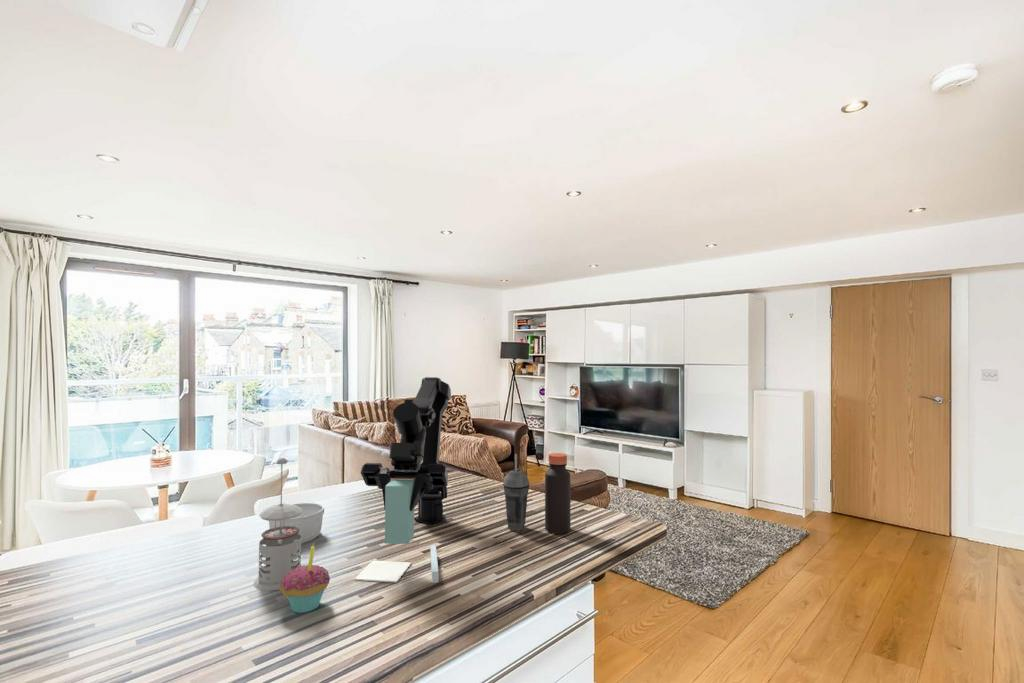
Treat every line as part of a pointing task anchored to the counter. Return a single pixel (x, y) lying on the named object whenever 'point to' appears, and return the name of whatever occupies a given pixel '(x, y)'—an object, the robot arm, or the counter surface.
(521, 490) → the beverage cup
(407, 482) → the sage block
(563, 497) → the bottle
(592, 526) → the counter surface
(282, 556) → the french press
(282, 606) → the counter surface
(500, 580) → the counter surface
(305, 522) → the ramekin
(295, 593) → the cupcake
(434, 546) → the acrylic strip
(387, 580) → the resting pad
